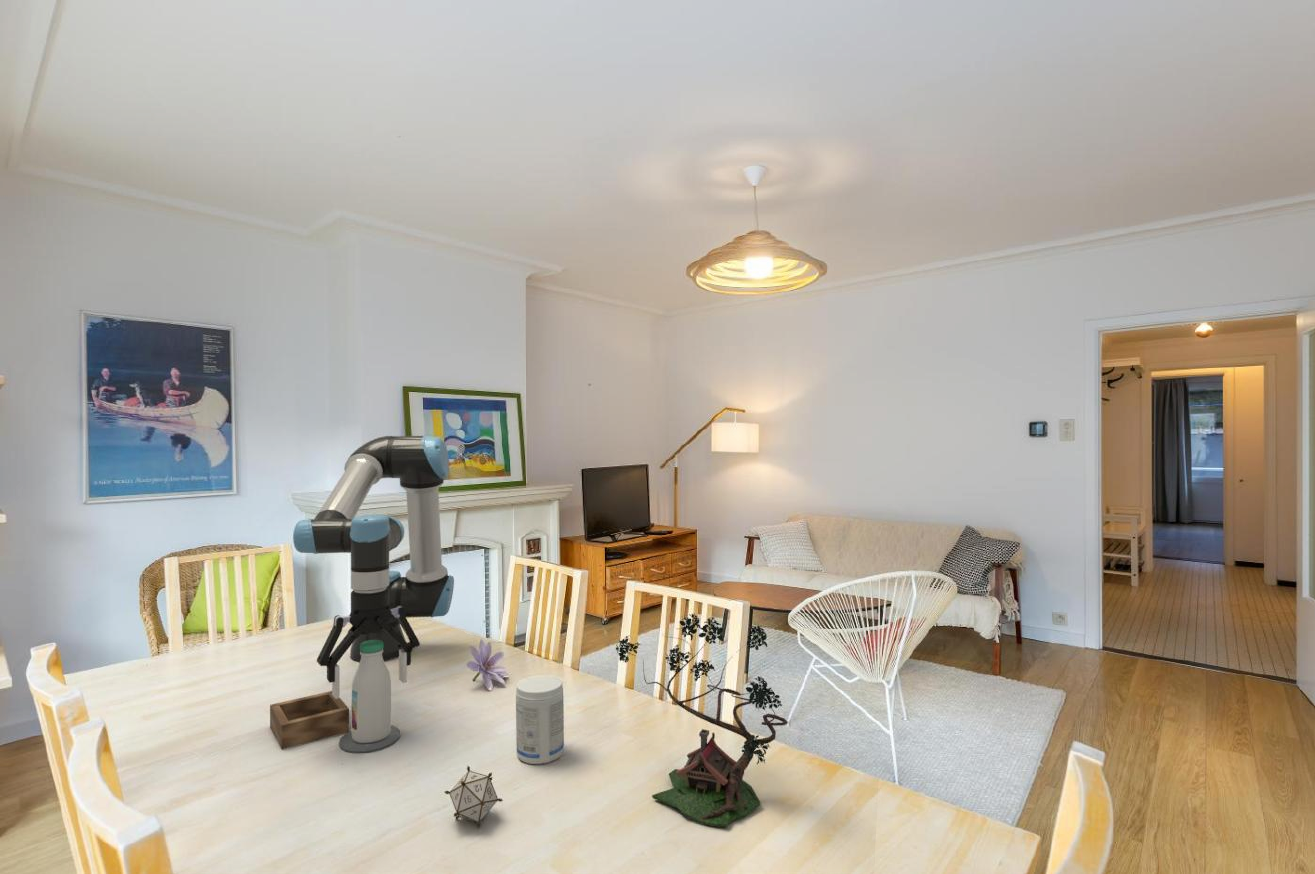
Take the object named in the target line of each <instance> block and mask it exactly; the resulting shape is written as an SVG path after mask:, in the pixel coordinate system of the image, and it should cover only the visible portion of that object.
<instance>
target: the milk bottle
mask: <svg viewBox="0 0 1315 874" xmlns="http://www.w3.org/2000/svg"><path fill="white" fill-rule="evenodd" d="M382 652H383V641H381V640H369V641H365V642H362V643H361V644H360V655H361V660H360V662H359V664H358V667H357V669H356V671H355V673H354V675H353V678H352V683H351V730H352V739H353V740H354V741H355V742H358V743H373V742H377V741H380V740H382V739H384V738H386V737H387V736H388V735H389V734H390V732H391V725H392V683H391V682H392V681H391V675H390V671H389V669H388V667H387V665H386V664H385V663H386V662H385V661H384V660H383V657H382Z"/></svg>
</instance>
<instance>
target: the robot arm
mask: <svg viewBox="0 0 1315 874" xmlns="http://www.w3.org/2000/svg"><path fill="white" fill-rule="evenodd" d="M448 451H449V450H448V448H447V445H446V443H445V441H444V440H443V438H441V437H438V436H428V435H407V436H406V435H403V436H402V435H394V436H393V435H385V436H384V435H383V436H380V437H377V438H374V439H371V440H369V441H367V442H366V443H363V444H362V445H361V446H359V447H358V448H357V449H356V450H355V451H353V452H352V453H351V454H350V456H349V457H347V458H348V459H347V460H346V461H345V463H344V472H343V473H342V476H341V477H340V479H338V481H337V483H336V484H335V486H334V487H333V490H332V491H331V492H330V494H329V495H328V497H327V498H326V500H325V501H324V503H323V505H322V507H320V510H319V511H318V513H317V514H316V516H314V518H312V519H311V518H308V519H300V520H299V521H297V523H296V524H295V526H294V530H293V535H292V537H293V538H292V540H293V542H292V543H293V546H294V548H295V550H296V551H297V552H299V553H301V554H314V555H317V554H340V553H341V554H342V553H343V554H345V553H347V554H349V553H350V589H352V591H351V592H350V614H349V615H347V616H344V615H343V616H340V615H339V614H338V615H335V616H334V618H333V625H332V628H331V630H330V632H329V634H328V636H327V638H326V640H325V643H324V645H323V646H322V648H321V650H320V651H319V652H320V653H319V655H318V656H317V658H316V662H317V664H318V665H319V666H320V667H326V680H327V681H328V682H329V684H330V683H331V685H332V686H331V691H332V695H333V696H334V698H335V699H338V698H340V699H341V697H340V696H341V695H340V691H341V690H340V687H341V686H340V683H341V682H340V680H341V679H340V677H341V676H340V673H341V672H340V665H339V664H338V662H339V661H340V660H341V658H342V657H343V656H344V655H345V654H346V652H347V651H348V650H349V648H350V650H349V652H350V659H351V660H353V661H355V662H359V663H360V660H361V655H360V644H361V643H362V642H365V641H369V640H381V641H383V652H382V657H383V660H384V662H385V661H391V660H393V659H397V658H398V680H399V681H400V682H402V683H403V684H406V683H407V682H408V678H407V676H408V675H407V673H408V671H407V670H408V669H407V667H408V666H411V664H412V652H413V650H414V649H415V648H418V647H419V646H420V645H421V643H420V641H419V638H418V637H417V635H416V633H415V631H414V629H413V628H412V625H410V622H409V621H408V619H407V618H435V617H445V616H446V615H447V614H448V613H449V611H450V609H451V604H452V599H453V595H454V589H455V587H454V586H455V578H454V575H453V576H452V575H448V568H447V567H446V566H445V565H443V562H442V544H441V542H442V541H441V540H442V539H441V538H442V537H441V520H440V519H441V516H440V514H441V513H440V498H439V494H440V493H439V488H440V487H442V485H444V483H445V481H444V480H445V479H447V478H448V477H449V474H450V459H449V458H450V457H449V452H448ZM381 479H399V485H400V487H401V488H402V489H404V491H405V493H406V506H407V510H406V511H407V524H408V526H407V527H408V544H409V559H410V560H409V562H410V567H409V569H408V570H407V571H406V572H405V576H402V575H401V573H400V571H398V570H390V551H392V550H394V549H396V548H397V547H398V546H399V545H400V543H401V542H402V541H403V539H404V536H405V527H404V525H403V523H402V522H401V521H400V520H399V519H398V518H396V517H393V516H387V515H384V514H362V515H358V516H356V515H357V514H358V512H359V510H360V509H361V506H362V504H364V501H365V499H366V498H367V496H368V494H369V492H370V490H371V489H372V487H373V486H374V485H376V484H378V482H379V481H380V480H381ZM348 623H349V624H350V625H351V627H350V629H348V631H347V634H346V635H344V637H343V639H341V641H340V643H339V644H338V645H337V646H336V647H335V645H336V644H337V642H338V639H339V637H340V636H341V634H342V631H343V629H344V628H345V627H346V625H347V624H348ZM403 631H404V632H403ZM404 633H405V635H406V637H407V639H408V640H409V641H408V642H407V640H406V637H405V635H404ZM334 648H335V649H334Z"/></svg>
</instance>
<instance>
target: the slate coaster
mask: <svg viewBox="0 0 1315 874" xmlns="http://www.w3.org/2000/svg"><path fill="white" fill-rule="evenodd" d="M400 738H401V729H400V728H398V726H395V725H392V724H391V732H390V734H389V735H388V736H387V737H386V738H384V739H382V740H380V741H377V742H373V743H358V742H355V741H354V740H353V739H352V729H351V730H349V732H347V733H343V734H342V736H341V737H340V738H339V741H338V746H339V748H340V749H341V751H344V752H346V753H353V754H365V753H372V752H377V751H380V750H383V749H387V748H389V747H390V746H392V745H394V744H396V743H397V742H398V741H399V740H400Z"/></svg>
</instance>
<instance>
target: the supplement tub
mask: <svg viewBox="0 0 1315 874" xmlns="http://www.w3.org/2000/svg"><path fill="white" fill-rule="evenodd" d="M564 714H565V713H564V687H563V681H562V679H561V678H560V677H558V676H555V675H549V674H537V675H532V676H531V675H530V676H528V677H524V678H522V679H520V680H519V681H517V683H516V690H515V729H516V730H515V733H516V734H515V735H516V738H515V739H516V743H515V744H516V756H517V758H518V759H519V760H520V761H521V762H523V763H526V764H530V765H543V763H544V764H548V763H551V762H553V761H555V760H557V759H559V758H560V757H561V756H562V754H563V752H564V750H565V731H564V730H565V727H564V726H565V724H564V721H565V719H564V718H565V717H564Z"/></svg>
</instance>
